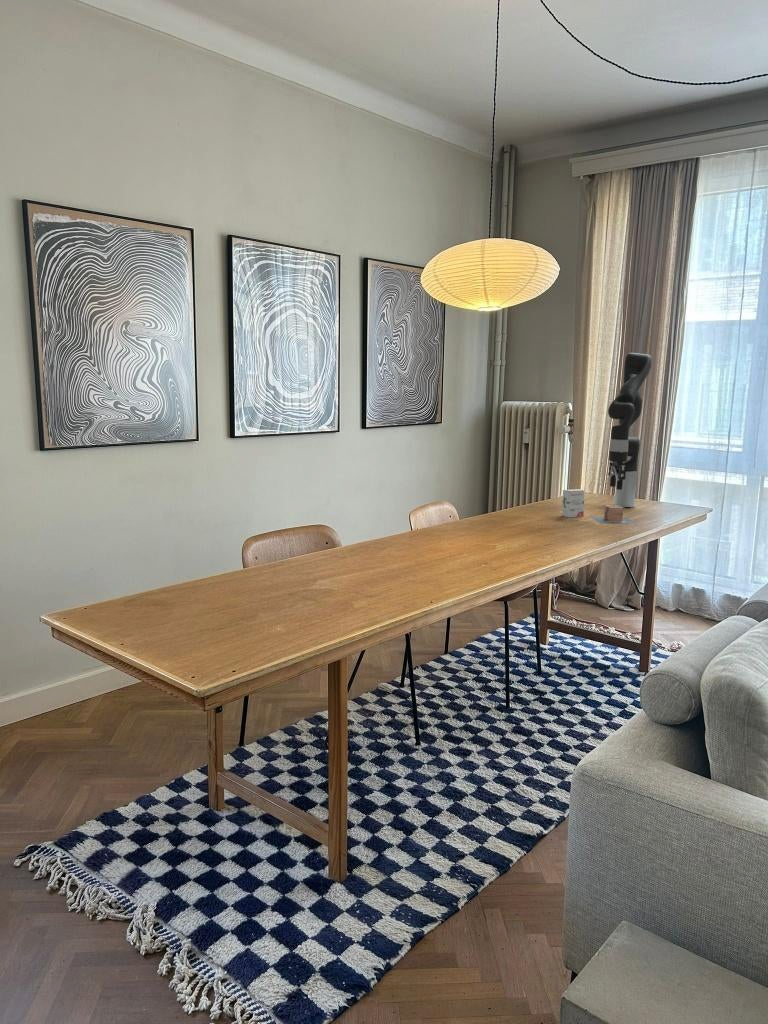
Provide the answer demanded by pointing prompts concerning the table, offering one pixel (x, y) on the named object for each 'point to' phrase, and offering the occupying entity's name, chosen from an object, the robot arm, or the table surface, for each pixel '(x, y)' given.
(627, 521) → the letter card
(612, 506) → the painted cube
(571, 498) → the ink box
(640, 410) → the robot arm
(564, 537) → the table surface
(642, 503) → the table surface
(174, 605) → the table surface
